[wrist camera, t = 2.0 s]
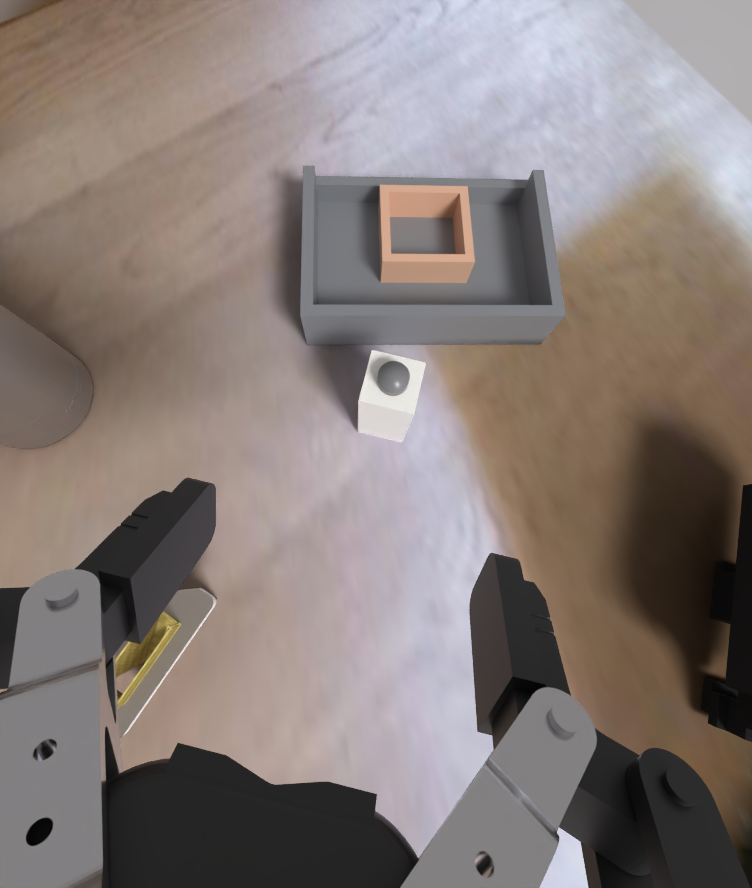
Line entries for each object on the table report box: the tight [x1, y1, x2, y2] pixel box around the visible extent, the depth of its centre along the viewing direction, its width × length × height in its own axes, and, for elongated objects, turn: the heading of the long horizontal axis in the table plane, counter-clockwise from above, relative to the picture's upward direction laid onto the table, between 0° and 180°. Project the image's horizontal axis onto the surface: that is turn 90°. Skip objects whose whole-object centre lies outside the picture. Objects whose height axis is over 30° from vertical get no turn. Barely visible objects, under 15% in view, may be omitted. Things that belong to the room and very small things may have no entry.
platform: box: [115, 588, 217, 737], centre depth 30 cm, size 12×18×7 cm, turn 147°
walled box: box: [300, 166, 566, 345], centre depth 39 cm, size 22×16×5 cm
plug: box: [358, 350, 426, 443], centre depth 33 cm, size 4×4×9 cm
